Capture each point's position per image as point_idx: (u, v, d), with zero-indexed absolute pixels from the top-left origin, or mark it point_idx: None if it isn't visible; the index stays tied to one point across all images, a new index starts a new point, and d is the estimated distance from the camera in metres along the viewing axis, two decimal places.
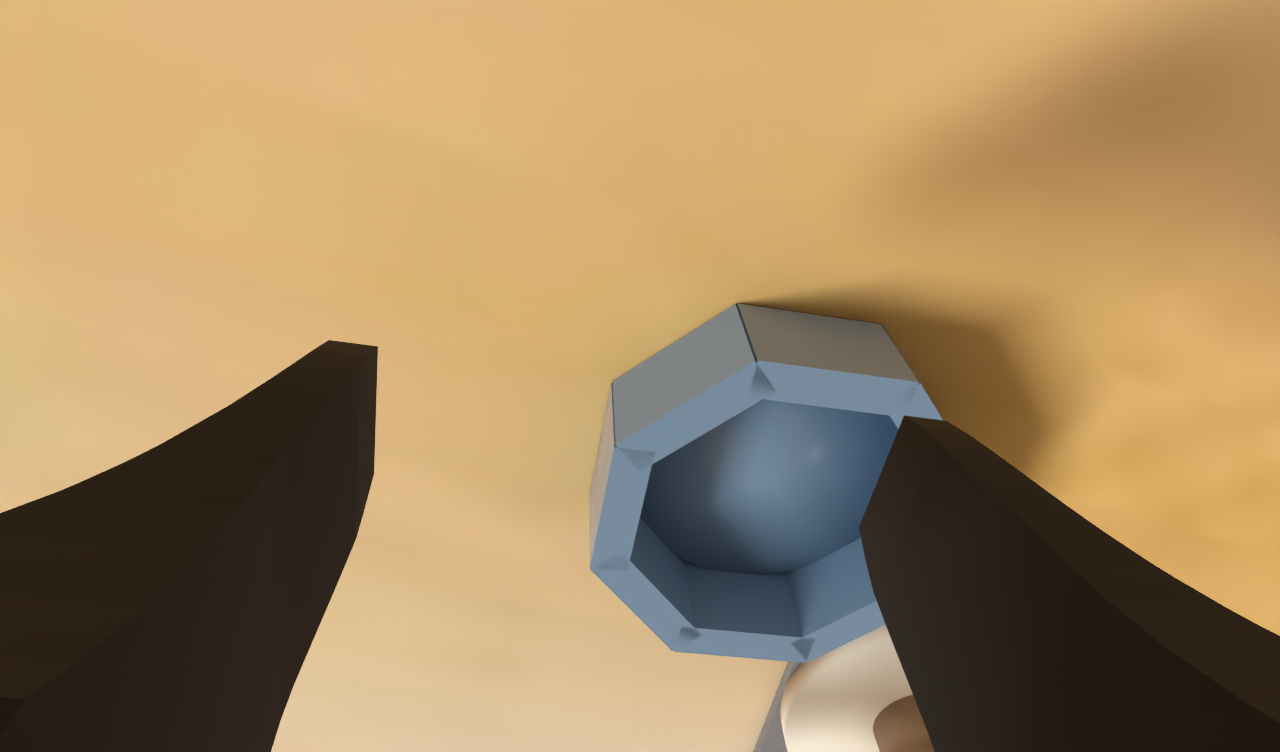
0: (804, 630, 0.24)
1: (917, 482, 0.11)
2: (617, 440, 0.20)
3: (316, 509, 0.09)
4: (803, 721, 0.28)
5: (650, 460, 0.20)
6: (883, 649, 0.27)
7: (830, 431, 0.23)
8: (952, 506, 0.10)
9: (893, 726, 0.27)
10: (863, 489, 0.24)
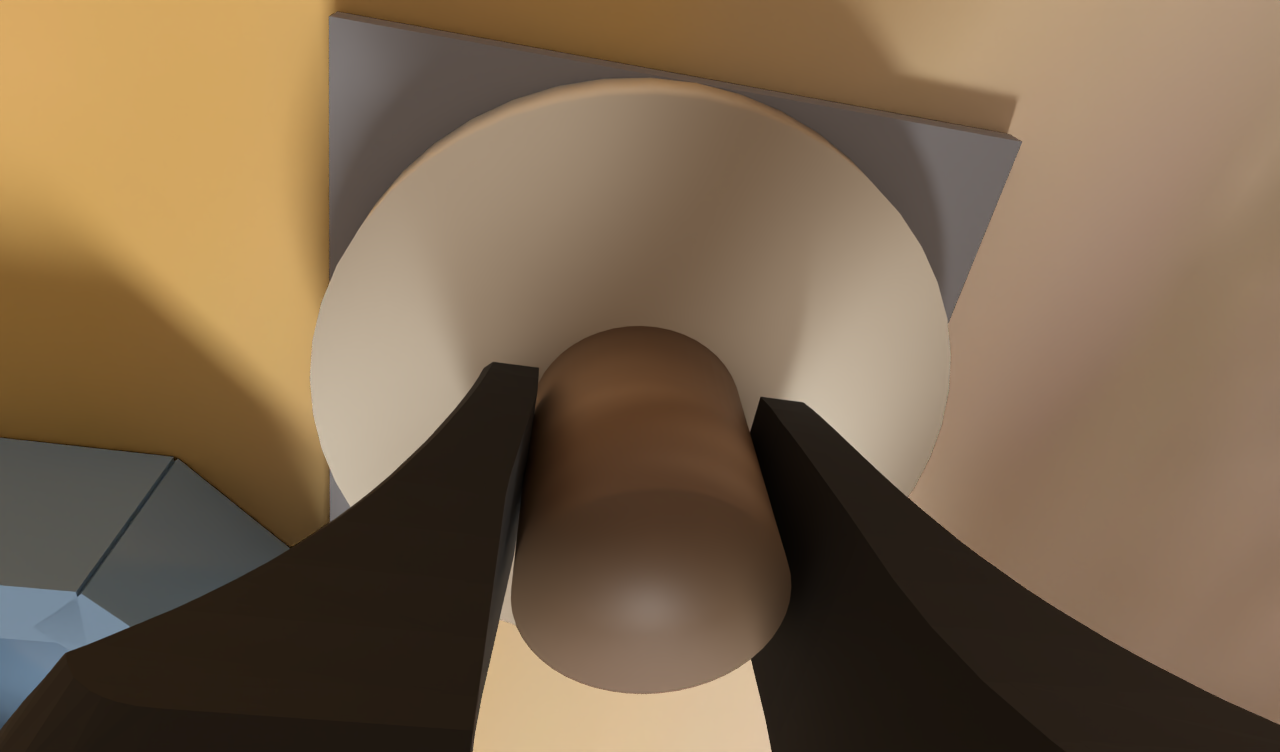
0: None
1: (765, 464, 0.11)
2: None
3: (509, 529, 0.09)
4: None
5: None
6: None
7: None
8: (789, 487, 0.10)
9: None
10: None
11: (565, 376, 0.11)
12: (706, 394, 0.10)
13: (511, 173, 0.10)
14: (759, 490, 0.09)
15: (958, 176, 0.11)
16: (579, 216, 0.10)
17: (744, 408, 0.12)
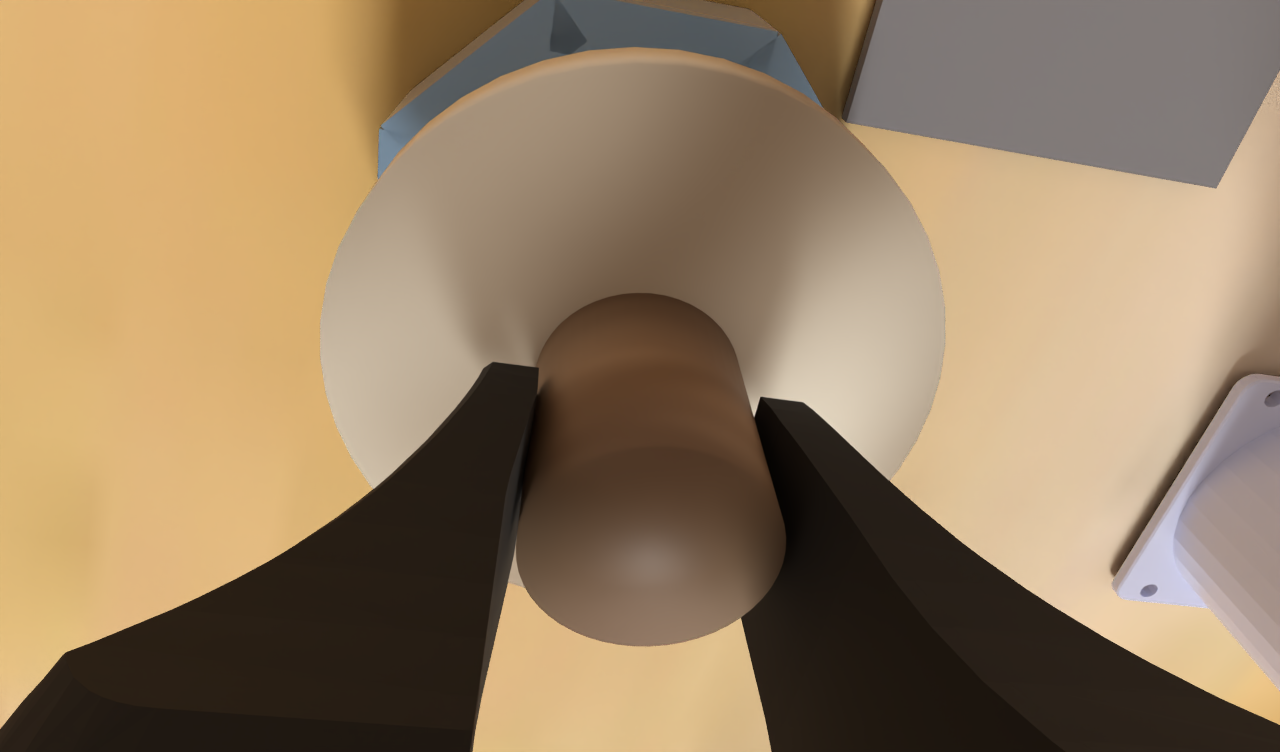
0: None
1: None
2: None
3: (509, 528, 0.09)
4: None
5: None
6: (389, 467, 0.13)
7: None
8: (789, 487, 0.10)
9: None
10: None
11: (575, 336, 0.11)
12: (712, 362, 0.10)
13: (537, 131, 0.10)
14: (760, 457, 0.10)
15: None
16: (600, 180, 0.11)
17: None
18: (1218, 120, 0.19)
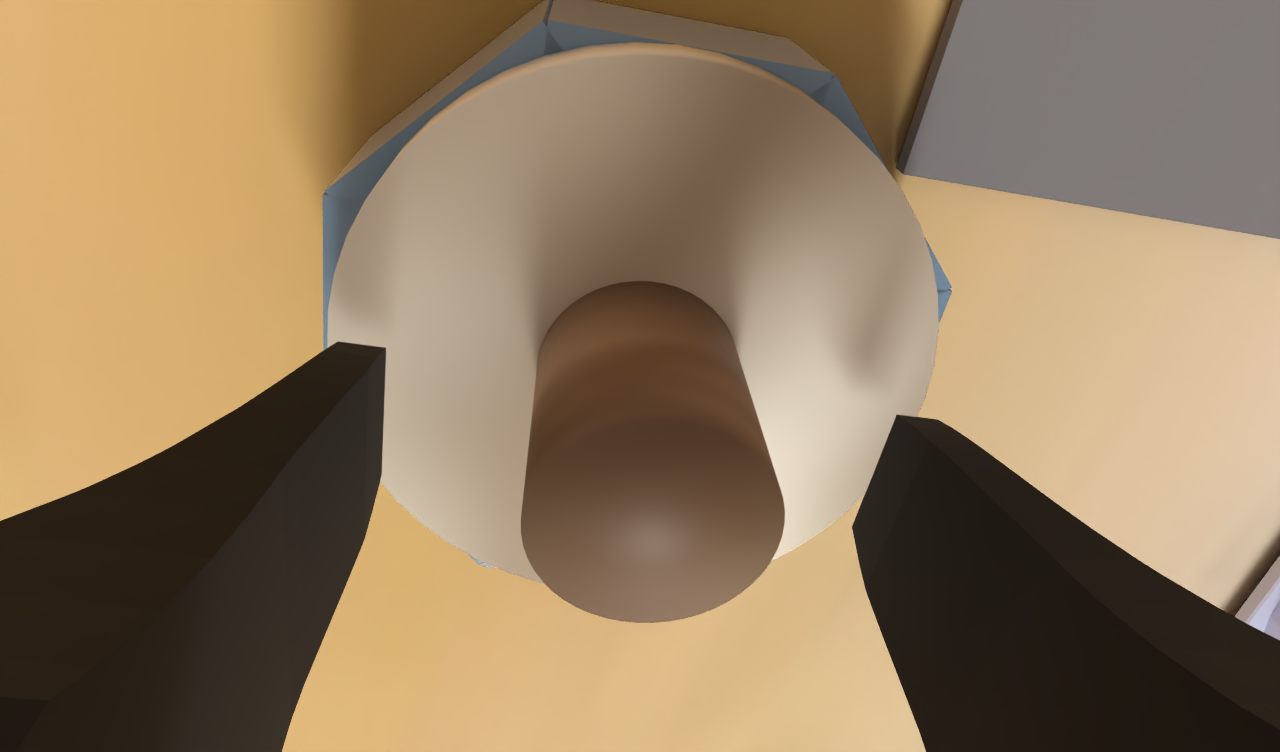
0: None
1: (909, 481, 0.11)
2: None
3: (327, 509, 0.09)
4: None
5: None
6: (394, 457, 0.13)
7: None
8: (944, 505, 0.10)
9: None
10: None
11: (577, 322, 0.11)
12: (712, 345, 0.11)
13: (540, 121, 0.11)
14: (759, 433, 0.10)
15: None
16: (602, 170, 0.11)
17: None
18: None
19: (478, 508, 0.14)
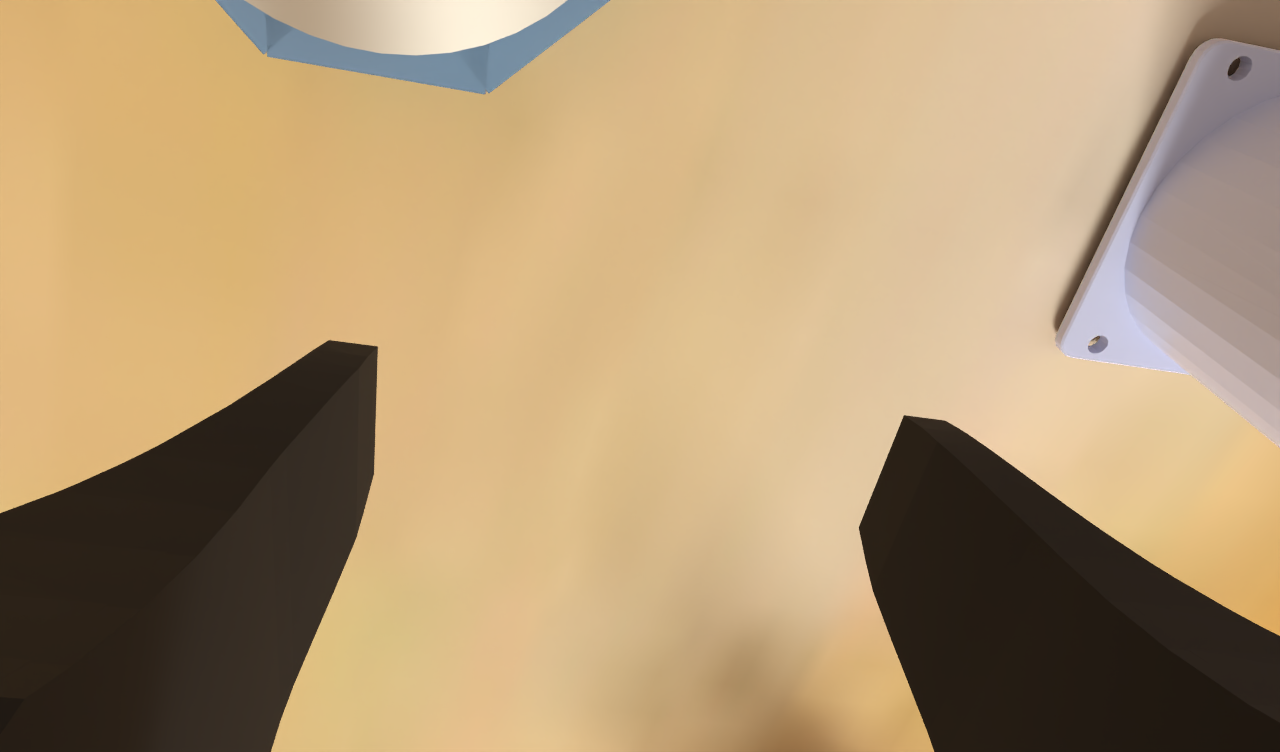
0: None
1: (917, 482, 0.11)
2: (263, 50, 0.15)
3: (316, 509, 0.09)
4: (373, 17, 0.14)
5: None
6: None
7: None
8: (952, 506, 0.10)
9: None
10: None
11: None
12: None
13: None
14: None
15: None
16: None
17: None
18: None
19: None
